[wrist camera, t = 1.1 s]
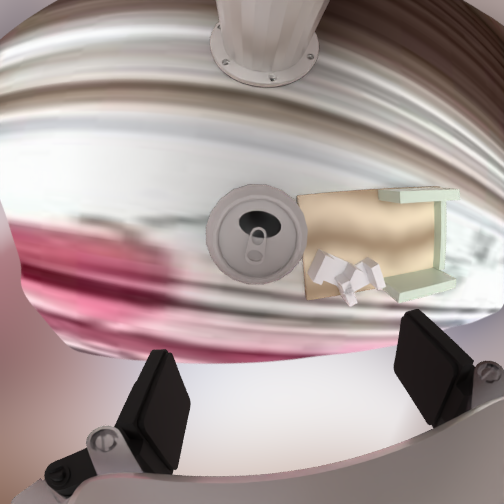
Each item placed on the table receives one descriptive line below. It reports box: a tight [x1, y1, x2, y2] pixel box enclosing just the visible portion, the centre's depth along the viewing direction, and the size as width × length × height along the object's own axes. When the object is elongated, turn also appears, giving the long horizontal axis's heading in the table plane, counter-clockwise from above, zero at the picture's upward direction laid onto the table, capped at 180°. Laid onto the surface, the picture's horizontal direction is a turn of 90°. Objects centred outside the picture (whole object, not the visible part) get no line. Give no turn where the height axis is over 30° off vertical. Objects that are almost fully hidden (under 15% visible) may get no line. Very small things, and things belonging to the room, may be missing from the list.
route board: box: [297, 186, 440, 300], centre depth 30 cm, size 12×20×1 cm, turn 97°
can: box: [206, 184, 308, 284], centre depth 24 cm, size 8×8×12 cm
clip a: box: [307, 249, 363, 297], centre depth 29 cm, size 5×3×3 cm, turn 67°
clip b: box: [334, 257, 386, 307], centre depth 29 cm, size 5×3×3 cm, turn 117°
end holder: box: [378, 187, 460, 303], centre depth 27 cm, size 12×10×5 cm
